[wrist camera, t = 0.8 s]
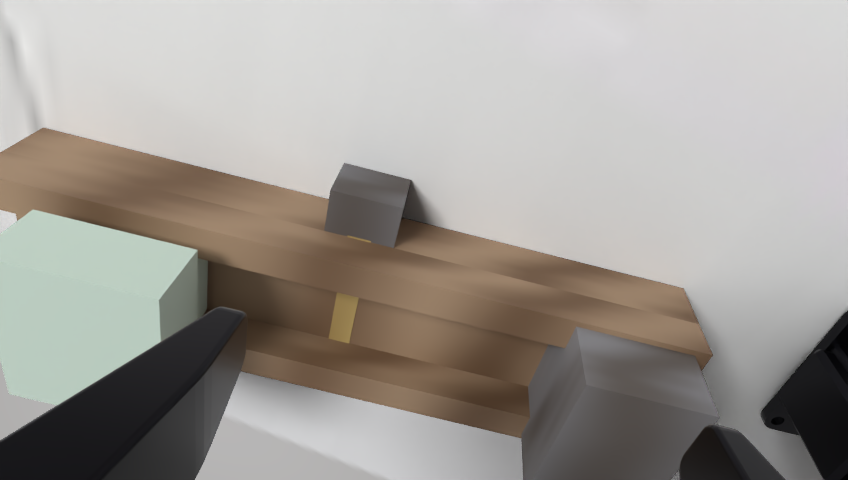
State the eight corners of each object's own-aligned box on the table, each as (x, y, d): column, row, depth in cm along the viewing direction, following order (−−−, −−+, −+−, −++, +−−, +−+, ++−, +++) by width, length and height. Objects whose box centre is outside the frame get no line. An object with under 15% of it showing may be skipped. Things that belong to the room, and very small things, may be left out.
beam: (704, 254, 21) (771, 379, 16) (603, 417, 26) (628, 552, 21) (36, 84, 20) (-120, 159, 15) (68, 288, 25) (-40, 395, 20)
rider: (223, 216, 19) (159, 299, 15) (219, 337, 22) (164, 430, 19) (73, 179, 19) (-28, 254, 15) (90, 305, 22) (9, 394, 18)
